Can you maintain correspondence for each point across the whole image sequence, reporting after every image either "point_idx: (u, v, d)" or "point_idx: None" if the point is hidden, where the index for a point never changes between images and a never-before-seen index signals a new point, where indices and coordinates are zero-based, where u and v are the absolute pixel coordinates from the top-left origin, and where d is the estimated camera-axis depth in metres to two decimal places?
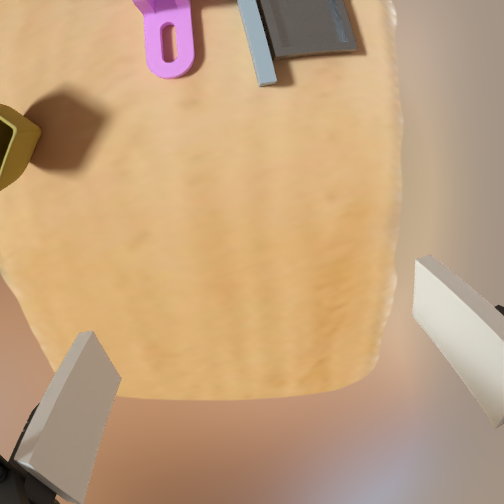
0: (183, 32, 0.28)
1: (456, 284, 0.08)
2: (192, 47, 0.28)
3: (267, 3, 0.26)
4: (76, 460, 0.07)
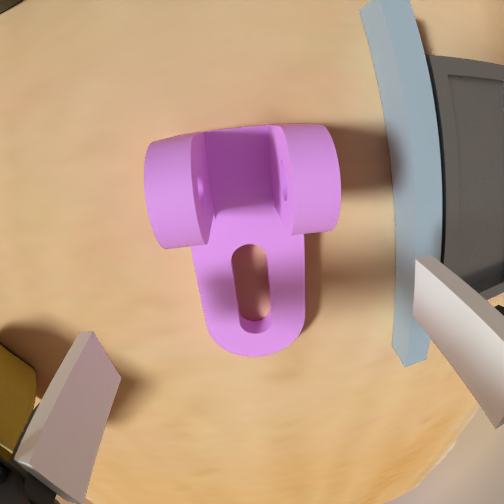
0: (286, 274, 0.16)
1: (456, 284, 0.08)
2: (303, 306, 0.17)
3: (455, 216, 0.14)
4: (76, 460, 0.07)
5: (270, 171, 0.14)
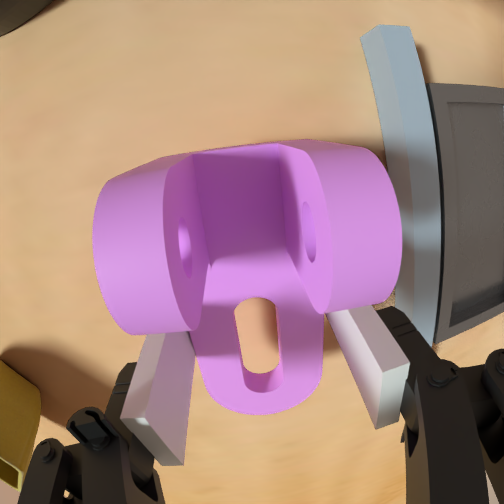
0: (300, 330, 0.13)
1: None
2: (320, 362, 0.13)
3: (453, 242, 0.15)
4: (177, 416, 0.08)
5: (282, 205, 0.10)
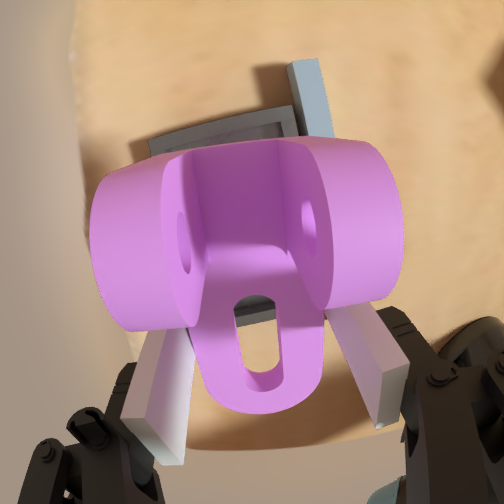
0: (301, 328, 0.12)
1: None
2: (320, 361, 0.13)
3: None
4: (177, 416, 0.08)
5: (282, 202, 0.10)
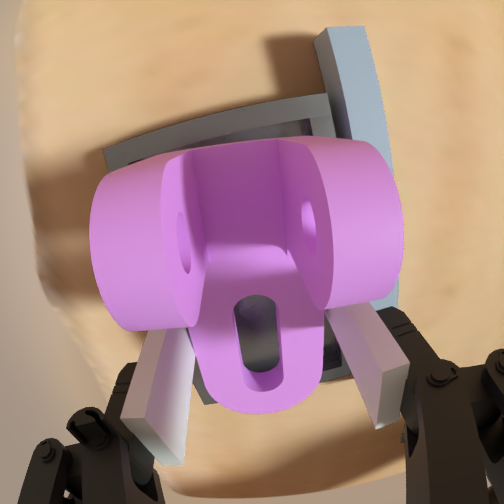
0: (301, 328, 0.12)
1: None
2: (320, 361, 0.13)
3: None
4: (177, 416, 0.08)
5: (282, 201, 0.10)
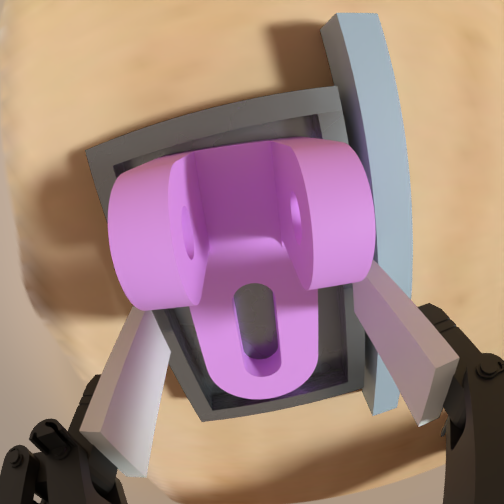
0: (296, 315, 0.13)
1: (382, 282, 0.10)
2: (316, 347, 0.14)
3: None
4: (140, 429, 0.08)
5: (276, 197, 0.11)
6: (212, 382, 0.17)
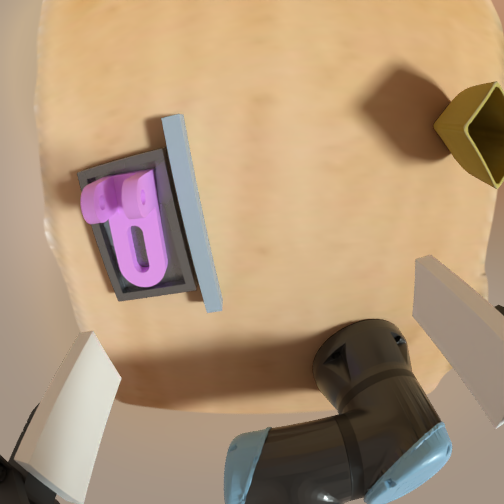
0: (152, 241, 0.32)
1: (456, 284, 0.08)
2: (163, 259, 0.33)
3: (170, 218, 0.31)
4: (76, 460, 0.07)
5: None
6: (124, 279, 0.35)
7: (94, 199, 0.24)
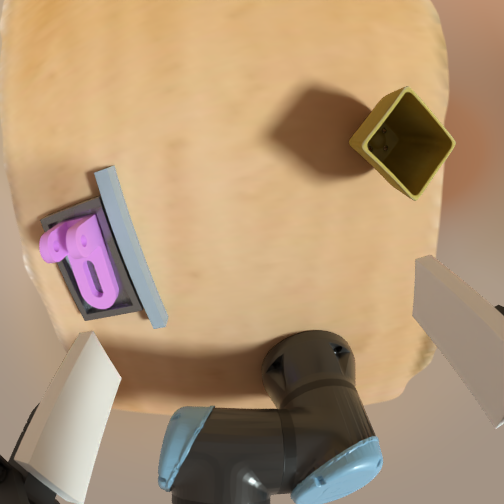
0: (102, 272, 0.36)
1: (456, 284, 0.08)
2: (112, 286, 0.37)
3: (113, 253, 0.36)
4: (76, 460, 0.07)
5: None
6: None
7: (48, 245, 0.29)
